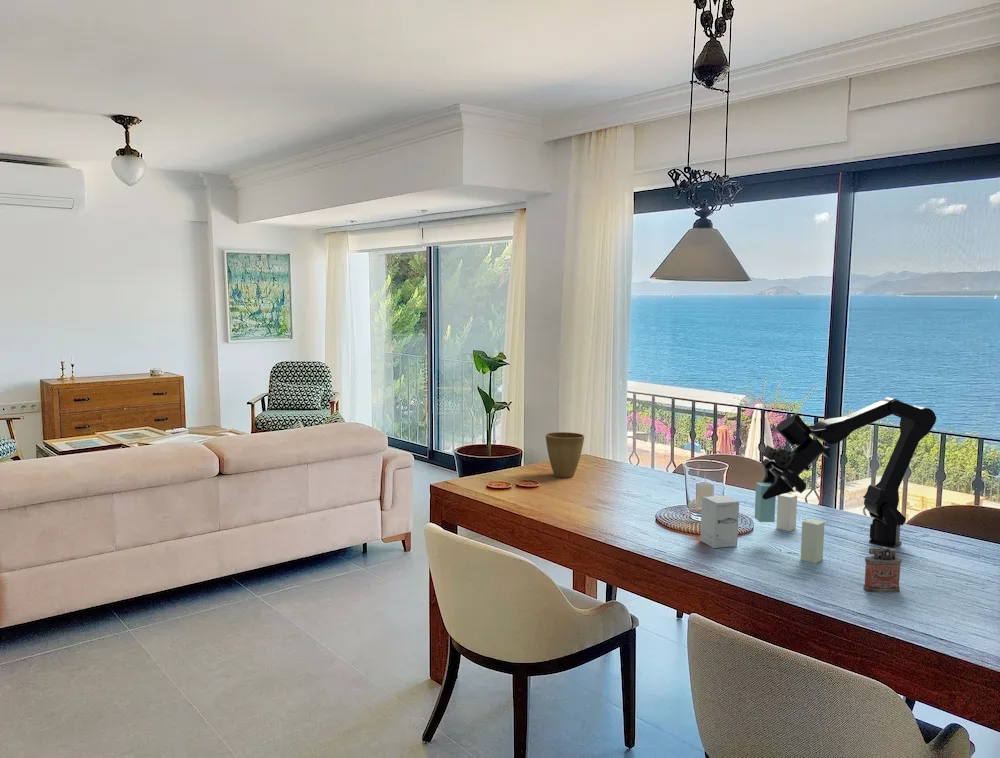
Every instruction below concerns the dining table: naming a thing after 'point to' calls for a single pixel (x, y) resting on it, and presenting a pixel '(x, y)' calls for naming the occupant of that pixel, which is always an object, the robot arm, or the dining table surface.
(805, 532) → the sage post
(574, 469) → the plant pot
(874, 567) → the lighter
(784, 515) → the off-white post
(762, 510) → the teal post
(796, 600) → the dining table surface
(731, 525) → the supplement box
